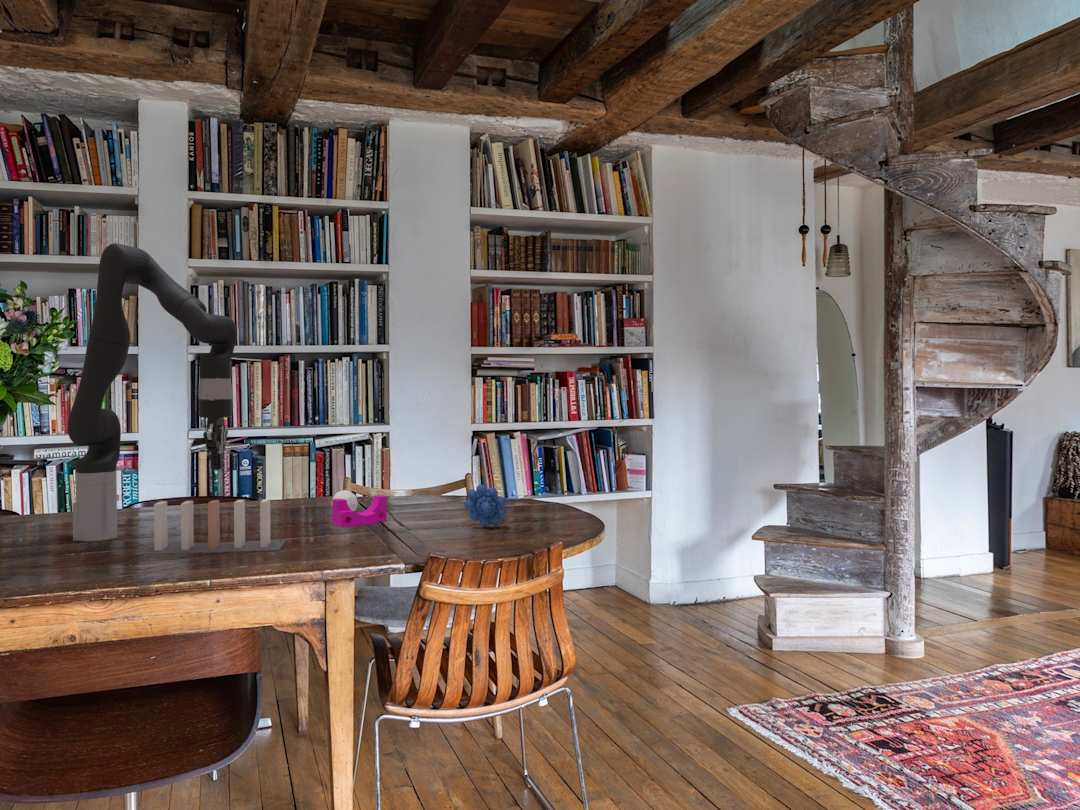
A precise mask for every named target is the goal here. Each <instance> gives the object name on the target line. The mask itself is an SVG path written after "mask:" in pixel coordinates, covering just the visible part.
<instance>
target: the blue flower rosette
mask: <svg viewBox="0 0 1080 810" xmlns="http://www.w3.org/2000/svg"><path fill="white" fill-rule="evenodd" d="M467 498H469V499H467V500H465V502H464V507H465V509H467V511H469V518H470V520H471V521H473V522H479V525H480V526H481V527H483V528H488V527H489V526H490V524H491V525H492V526H494V527H497V526H499V525H500V524H501V519H504V518H506V517H507V510H506V508H504V507H505V506H506V504H507V503H506V499H505V498H504V497H503V496H501V495H499V492H498V490H497V488H495V487H493V486H490V487H488V488H487V487H486V485H485V484H477V486H476V489H472V488H471V489H469V490H468V491H467Z"/></svg>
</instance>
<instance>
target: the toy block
mask: <svg viewBox="0 0 1080 810" xmlns="http://www.w3.org/2000/svg"><path fill="white" fill-rule="evenodd" d="M331 499H332V498H331ZM331 502H332V505H331V507H332V508H331V511H332V512H331V515H332V516H331V519H332V522H331V523H332V524H333V526H335V525H336V527H338V526H339V527H338V528H341V527H343V528H350V527H351V526H352V527H359V526H368V525H369V526H370V525H376V524H377V523H382V522H387V518H388V517H387V495H382V494H377V495H374V497H373V500H372V502H371V503H370V505H369V506H368V508H366V510H363V511H361V512H356V510H355V511H353V510H351V509H350V508H349V506H348V504H347V500H345V499H332V500H331Z"/></svg>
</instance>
